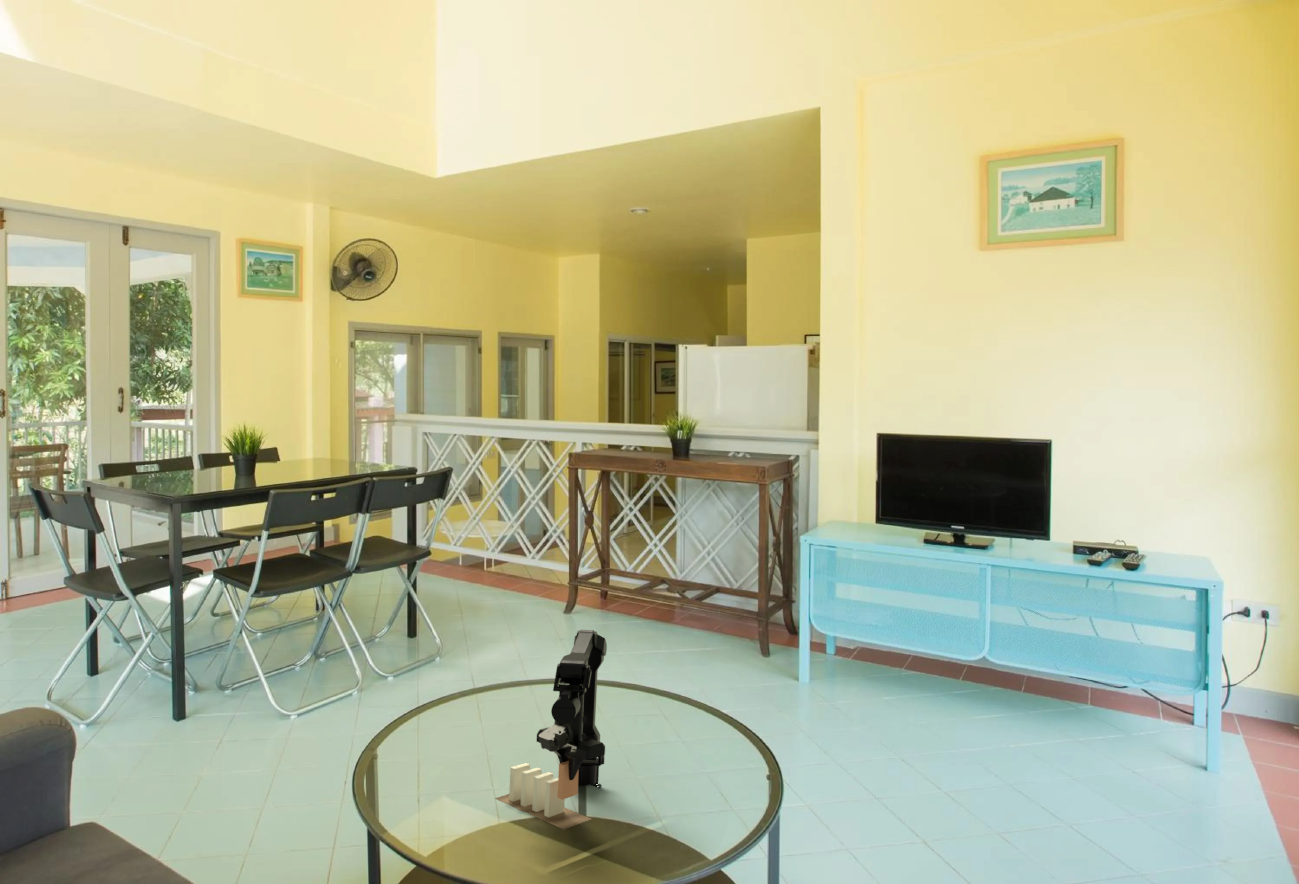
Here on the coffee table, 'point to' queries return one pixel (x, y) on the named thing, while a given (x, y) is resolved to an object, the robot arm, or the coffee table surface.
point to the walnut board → (559, 820)
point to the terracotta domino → (566, 782)
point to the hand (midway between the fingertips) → (568, 778)
